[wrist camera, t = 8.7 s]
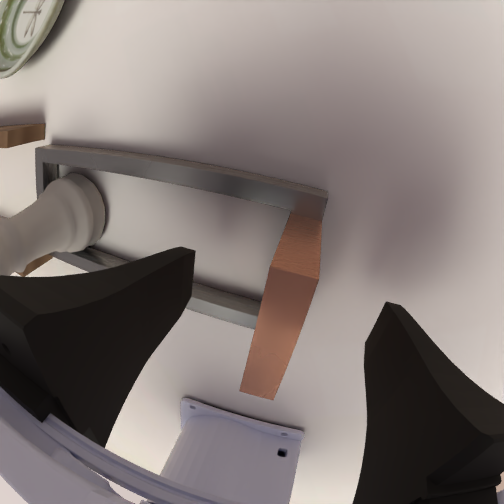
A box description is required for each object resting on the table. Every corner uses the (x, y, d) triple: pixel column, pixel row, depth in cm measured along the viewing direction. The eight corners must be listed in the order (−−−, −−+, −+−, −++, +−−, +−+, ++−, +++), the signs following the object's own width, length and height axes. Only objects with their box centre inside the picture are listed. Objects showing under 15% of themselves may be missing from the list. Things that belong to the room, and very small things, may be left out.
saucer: (30, -25, 8) (9, -29, 6) (113, -59, 7) (89, -71, 5) (-1, 80, 13) (-24, 83, 10) (66, 73, 12) (35, 74, 10)
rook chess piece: (52, 208, 15) (-45, 261, 8) (75, 155, 13) (-47, 196, 6) (92, 257, 16) (-2, 330, 9) (122, 207, 14) (-1, 279, 7)
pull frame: (327, 191, 11) (329, 245, 6) (288, 322, 14) (267, 412, 9) (49, 144, 13) (-26, 165, 8) (55, 245, 16) (-5, 283, 12)
